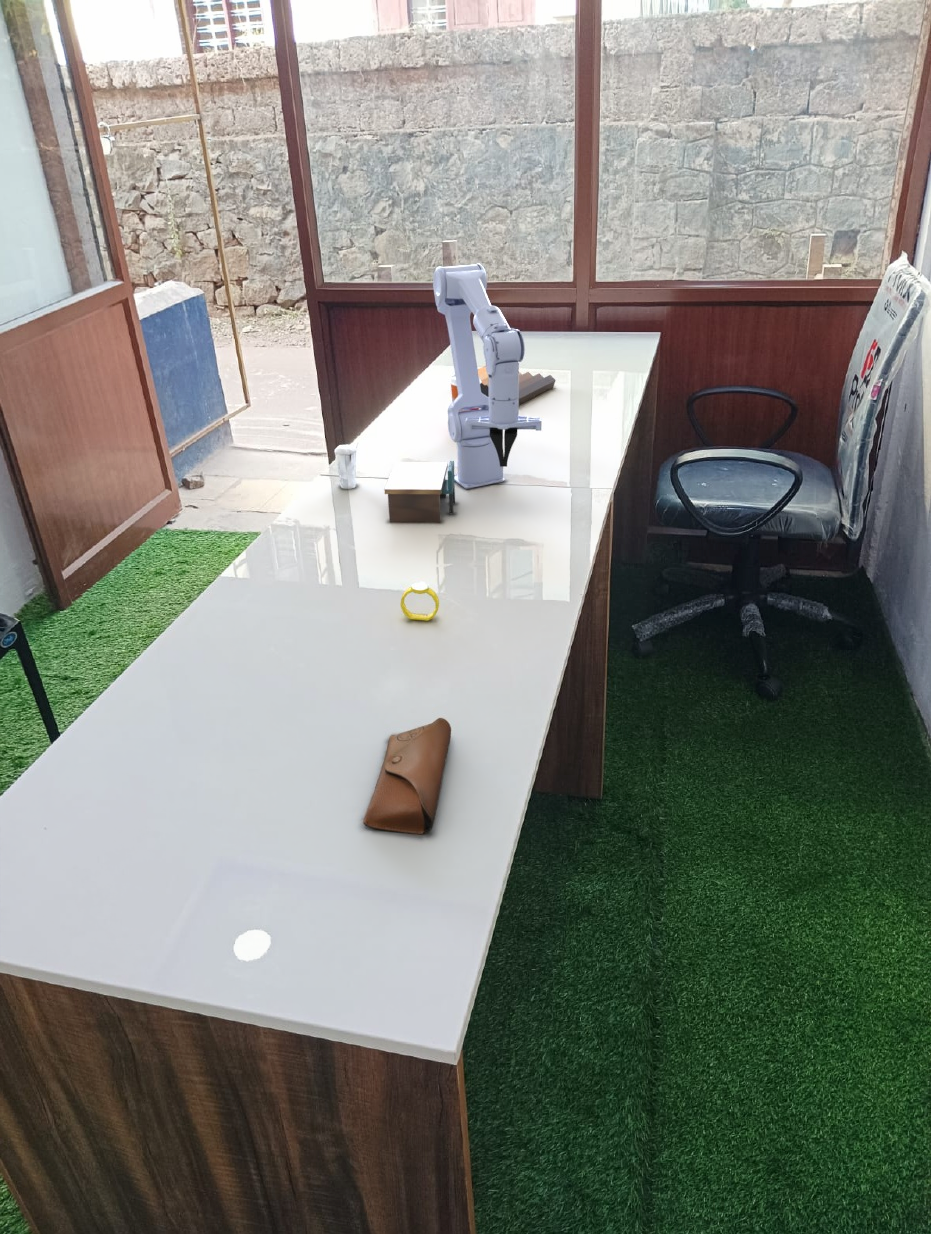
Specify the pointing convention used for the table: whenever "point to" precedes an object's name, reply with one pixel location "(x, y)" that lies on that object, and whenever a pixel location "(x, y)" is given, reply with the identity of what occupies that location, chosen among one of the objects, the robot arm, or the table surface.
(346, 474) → the milkshake
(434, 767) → the sunglasses case
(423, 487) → the desk
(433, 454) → the table surface
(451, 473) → the chair
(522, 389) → the pan flute
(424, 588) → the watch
